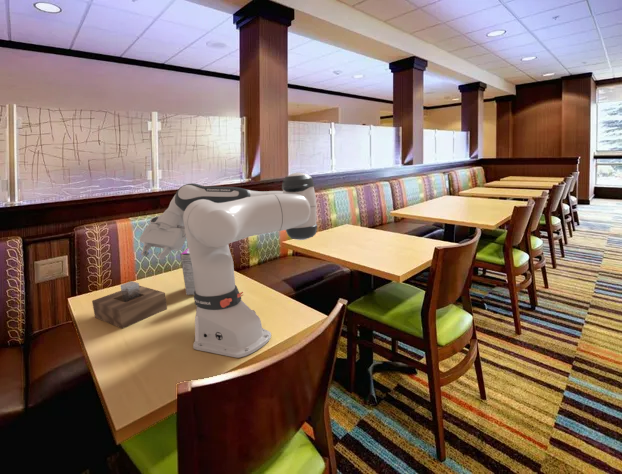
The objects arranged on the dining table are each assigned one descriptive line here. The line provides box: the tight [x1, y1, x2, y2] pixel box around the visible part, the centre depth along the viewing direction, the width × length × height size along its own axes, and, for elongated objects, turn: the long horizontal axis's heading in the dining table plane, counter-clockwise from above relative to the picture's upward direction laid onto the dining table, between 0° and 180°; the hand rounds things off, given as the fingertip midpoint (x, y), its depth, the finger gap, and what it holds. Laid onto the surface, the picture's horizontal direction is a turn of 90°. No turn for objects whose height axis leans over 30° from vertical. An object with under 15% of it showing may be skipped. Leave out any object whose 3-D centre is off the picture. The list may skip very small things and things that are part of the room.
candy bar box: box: [180, 247, 195, 296], centre depth 140 cm, size 11×5×16 cm, turn 179°
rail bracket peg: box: [119, 280, 141, 302], centre depth 123 cm, size 4×4×10 cm
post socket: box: [91, 285, 168, 329], centre depth 123 cm, size 16×16×6 cm
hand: (151, 257), depth 128 cm, fingers open, 8 cm apart
